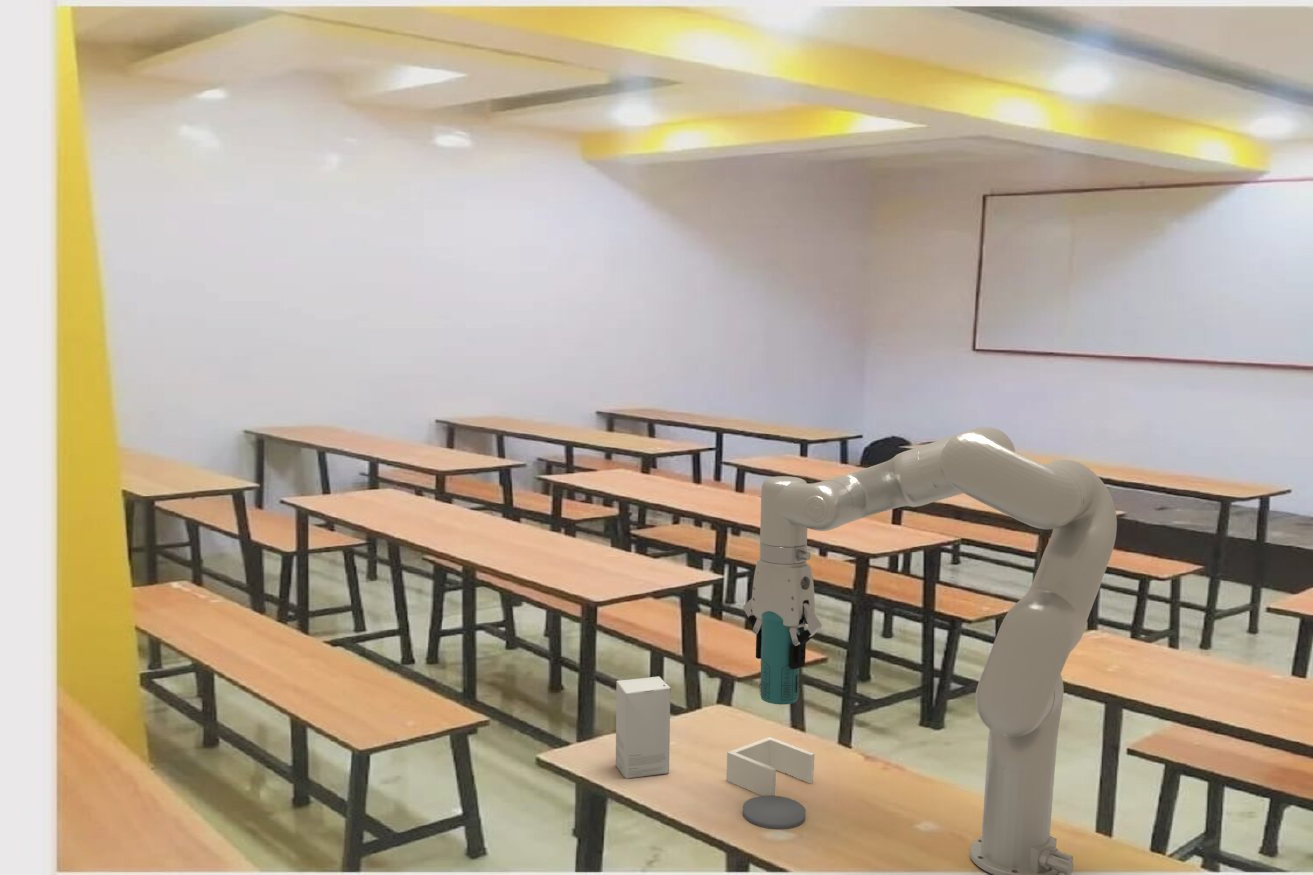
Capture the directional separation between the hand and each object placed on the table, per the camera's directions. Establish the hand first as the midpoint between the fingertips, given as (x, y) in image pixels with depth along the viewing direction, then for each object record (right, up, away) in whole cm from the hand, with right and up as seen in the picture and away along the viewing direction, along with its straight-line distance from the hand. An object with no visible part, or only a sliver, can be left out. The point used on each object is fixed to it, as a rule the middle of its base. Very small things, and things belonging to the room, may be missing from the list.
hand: (780, 661), depth 189 cm
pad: (-1, -24, -4) cm, 24 cm away
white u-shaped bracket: (0, -22, +9) cm, 24 cm away
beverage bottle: (0, -8, +1) cm, 8 cm away
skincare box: (-23, -21, +12) cm, 34 cm away
